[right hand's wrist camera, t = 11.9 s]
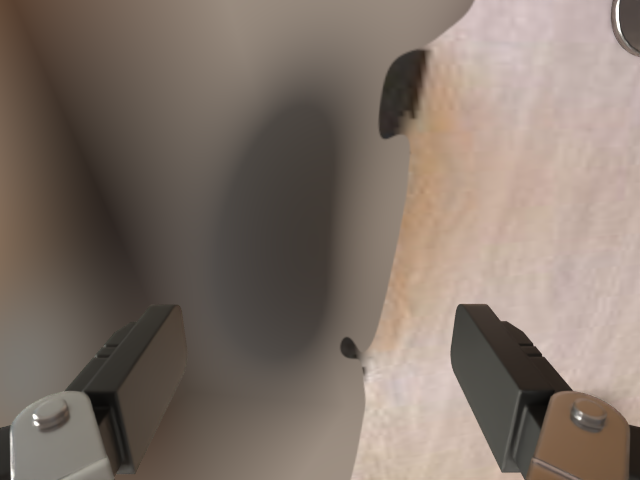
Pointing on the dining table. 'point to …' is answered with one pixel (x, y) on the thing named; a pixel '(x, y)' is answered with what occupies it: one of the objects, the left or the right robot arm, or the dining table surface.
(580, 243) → the dining table surface
